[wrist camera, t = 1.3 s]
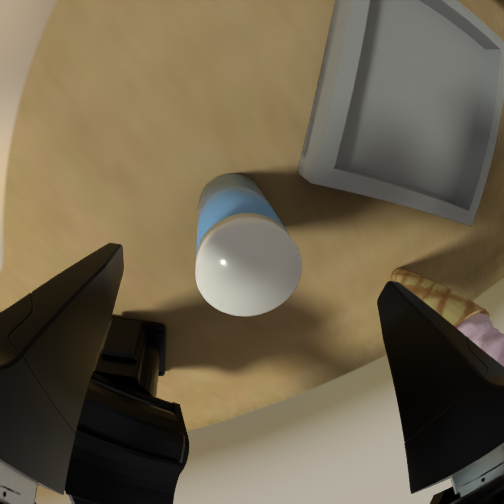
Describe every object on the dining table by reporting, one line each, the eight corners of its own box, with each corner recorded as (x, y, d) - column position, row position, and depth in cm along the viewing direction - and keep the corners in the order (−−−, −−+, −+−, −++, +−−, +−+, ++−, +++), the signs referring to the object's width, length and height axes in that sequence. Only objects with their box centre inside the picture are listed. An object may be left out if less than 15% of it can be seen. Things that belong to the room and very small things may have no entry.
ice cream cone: (427, 283, 27) (519, 384, 14) (379, 317, 28) (457, 435, 14) (414, 233, 24) (536, 339, 11) (359, 270, 25) (462, 407, 11)
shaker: (256, 237, 22) (286, 319, 14) (195, 230, 21) (190, 311, 13) (269, 178, 20) (313, 231, 12) (204, 168, 19) (203, 216, 11)
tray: (450, 213, 23) (471, 226, 21) (297, 172, 20) (311, 183, 17) (485, 45, 16) (507, 46, 13) (343, -42, 13) (360, -57, 10)
